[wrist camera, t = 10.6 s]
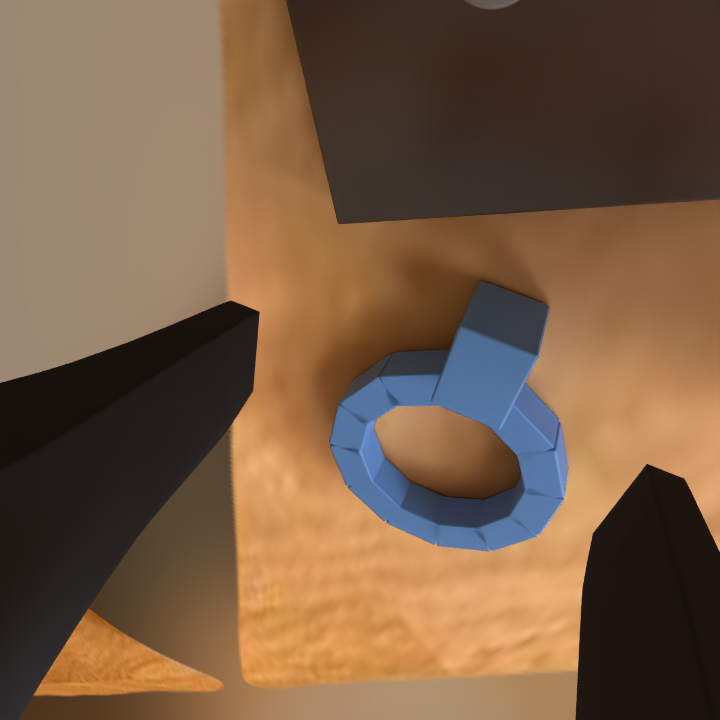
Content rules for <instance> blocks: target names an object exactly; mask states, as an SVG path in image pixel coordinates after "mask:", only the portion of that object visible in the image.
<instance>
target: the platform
mask: <svg viewBox="0 0 720 720" xmlns="http://www.w3.org/2000/svg"><path fill="white" fill-rule="evenodd" d="M286 1H287V6H288V10H289V14H290V19H291V23H292V27H293V32H294V36H295V40H296V45H297V49H298V53H299V58H300V62H301V66H302V71H303V75H304V79H305V84H306V88H307V92H308V96H309V101H310V105H311V109H312V114H313V118H314V122H315V127H316V131H317V135H318V140H319V144H320V148H321V153H322V157H323V161H324V166H325V170H326V174H327V179H328V183H329V187H330V192H331V196H332V200H333V205H334V209H335V213H336V218H337V222H338V224H351V223H366V222H382V221H397V220H412V219H428V218H443V217H458V216H474V215H489V214H504V213H520V212H535V211H551V210H566V209H581V208H597V207H612V206H627V205H643V204H658V203H673V202H689V201H704V200H719V199H720V0H286Z"/></svg>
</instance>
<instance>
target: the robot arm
mask: <svg viewBox="0 0 720 720" xmlns="http://www.w3.org/2000/svg"><path fill="white" fill-rule="evenodd" d="M259 313H260V312H259V311H256V310H254V309H251V308H249V307H246V306H244V305H241V304H239V303H236V302H234V301H228V302H226V303H223V304H220V305H218V306H215V307H213V308H211V309H208V310H206V311H203V312H201V313H199V314H196V315H194V316H192V317H189V318H187V319H184V320H182V321H180V322H177V323H175V324H173V325H170V326H168V327H165V328H163V329H160V330H158V331H155V332H153V333H150V334H148V335H145V336H143V337H141V338H138V339H135V340H133V341H130V342H128V343H125V344H122V345H120V346H117V347H114V348H111V349H108V350H105V351H103V352H100V353H97V354H94V355H91V356H88V357H86V358H83V359H80V360H78V361H74V362H72V363H69V364H65V365H62V366H59V367H56V368H52V369H50V370H46V371H42V372H39V373H35V374H32V375H28V376H24V377H20V378H17V379H13V380H10V381H6V382H2V383H0V720H19V718H20V717H21V715H22V713H23V712H24V710H25V708H26V706H27V705H28V703H29V702H30V700H31V698H32V697H33V695H34V693H35V692H36V690H37V688H38V686H39V685H40V683H41V681H42V680H43V678H44V677H45V675H46V674H47V672H48V670H49V669H50V667H51V666H52V664H53V663H54V661H55V659H56V658H57V656H58V655H59V653H60V651H61V650H62V648H63V647H64V645H65V644H66V642H67V640H68V639H69V637H70V636H71V634H72V632H73V631H74V629H75V628H76V626H77V625H78V623H79V622H80V620H81V619H82V617H83V616H84V614H85V613H86V611H87V610H88V608H89V607H90V605H91V604H92V602H93V601H94V599H95V598H96V596H97V595H98V593H99V592H100V590H101V589H102V587H103V586H104V584H105V583H106V581H107V580H108V578H109V577H110V575H111V574H112V573H113V571H114V570H115V568H116V567H117V565H118V564H119V563H120V561H121V560H122V558H123V557H124V556H125V554H126V553H127V551H128V550H129V548H130V547H131V546H132V544H133V543H134V541H135V540H136V538H137V537H138V536H139V535H140V533H141V532H142V531H143V529H144V528H145V527H146V526H147V524H148V523H149V522H150V521H151V519H152V518H153V517H154V516H155V515H156V513H157V512H158V511H159V510H160V509H161V507H162V506H163V505H164V504H165V503H166V502H167V501H168V499H169V498H170V497H171V496H172V495H173V494H174V493H175V491H176V490H177V489H178V488H179V487H180V486H181V484H182V483H183V482H184V481H185V480H186V479H187V477H188V476H189V475H190V474H191V473H192V472H193V471H194V469H195V468H196V467H197V466H198V465H199V464H200V462H201V461H202V460H203V459H204V458H205V457H206V455H207V454H208V453H209V452H210V451H211V450H212V448H213V447H214V446H215V445H216V444H217V442H218V441H219V440H220V439H221V438H222V436H223V435H224V434H225V433H226V432H227V430H228V429H229V427H230V426H231V424H232V423H233V421H234V420H235V418H236V417H237V415H238V414H239V412H240V411H241V409H242V407H243V406H244V404H245V403H246V401H247V400H248V398H249V396H250V395H251V393H252V392H253V385H254V373H255V361H256V349H257V337H258V325H259ZM577 683H578V684H577V702H576V720H720V552H719V549H718V547H717V545H716V543H715V541H714V539H713V537H712V535H711V533H710V531H709V529H708V526H707V524H706V522H705V520H704V518H703V516H702V514H701V512H700V510H699V507H698V505H697V503H696V501H695V499H694V497H693V495H692V493H691V491H690V489H689V487H688V485H687V483H686V481H685V479H684V478H681V477H679V476H676V475H674V474H671V473H669V472H666V471H663V470H661V469H658V468H656V467H653V466H651V465H648V464H647V465H646V466H645V467H644V468H643V470H642V471H641V472H640V474H639V475H638V476H637V478H636V479H635V480H634V481H633V483H632V484H631V485H630V487H629V488H628V489H627V490H626V492H625V493H624V494H623V496H622V497H621V498H620V499H619V501H618V502H617V503H616V505H615V506H614V507H613V508H612V510H611V511H610V512H609V514H608V515H607V516H606V517H605V519H604V520H603V521H602V523H601V524H600V525H599V526H598V528H597V529H596V530H595V532H594V533H593V536H592V541H591V546H590V551H589V556H588V561H587V566H586V572H585V577H584V583H583V590H582V605H581V623H580V641H579V662H578V682H577Z"/></svg>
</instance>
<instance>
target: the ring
mask: <svg viewBox="0 0 720 720" xmlns="http://www.w3.org/2000/svg"><path fill="white" fill-rule="evenodd" d="M549 309H550V306H549V305H547V304H544V303H541V302H539V301H536V300H533V299H531V298H528V297H525V296H523V295H520V294H517V293H514V292H512V291H509V290H506V289H504V288H501V287H498V286H495V285H493V284H490V283H487V282H485V281H479V282H478V285H477V287H476V289H475V291H474V293H473V296H472V298H471V300H470V302H469V304H468V307H467V309H466V311H465V313H464V315H463V318H462V320H461V322H460V324H459V326H458V329H457V332H456V334H455V337H454V340H453V342H452V345H451V347H450V349H441V350H425V351H408V352H395V353H393V355H392V354H389V355H388V356H386V357H385V358H383V359H382V360H381V361H379V362H378V363H376V364H375V365H374V366H372V367H371V368H369V369H368V370H367V371H365V372H364V373H362V374H361V375H360V376H358V377H357V378H355V379H354V381H353V382H352V383H351V385H350V387H349V388H348V390H347V391H346V393H345V394H344V396H343V398H342V399H341V401H340V402H339V404H338V407H337V411H336V415H335V419H334V424H333V428H332V432H331V436H330V440H329V443H330V448H331V450H332V453H333V455H334V458H335V460H336V462H337V465H338V467H339V469H340V472H341V474H342V477H343V479H344V481H345V484H346V485H349V486H348V488H349V489H350V490H351V491H352V492H353V493H354V494H355V495H356V496H357V497H358V498H359V499H360V500H362V501H363V502H364V503H365V504H366V505H367V506H368V507H369V508H370V509H371V510H372V511H373V512H374V513H375V514H377V515H378V516H379V517H380V518H381V519H382V520H383V521H386V520H387V523H388V524H390V525H392V526H394V527H396V528H398V529H401V530H403V531H405V532H407V533H409V534H412V535H414V536H416V537H418V538H420V539H423V540H425V541H427V542H429V543H431V544H434V545H435V544H436V542H437V545H438V546H442V547H452V548H462V549H471V550H481V551H490V549H491V550H493V551H494V550H497V549H500V548H503V547H506V546H510V545H513V544H516V543H519V542H522V541H525V540H528V539H531V538H534V537H536V536H537V535H538V534H540V533H541V532H542V531H543V529H544V528H545V526H546V525H547V523H548V522H549V521H550V519H551V518H552V516H553V515H554V513H555V512H556V511H557V509H558V508H559V506H560V505H561V503H562V502H563V501H564V496H565V490H566V482H567V475H568V462H567V456H566V450H565V444H564V438H563V432H562V426H561V423H560V422H558V420H559V419H558V417H557V416H556V415H555V414H554V413H553V412H552V411H551V410H550V409H549V408H548V407H547V406H546V404H545V403H544V402H543V401H542V400H541V399H540V398H539V397H538V396H537V395H536V394H535V393H534V392H533V391H532V390H531V389H530V387H529V386H528V385H527V384H526V383H525V382H526V380H527V378H528V376H529V374H530V372H531V370H532V368H533V366H534V364H535V362H536V360H537V358H538V356H539V352H540V347H541V343H542V339H543V335H544V330H545V326H546V322H547V318H548V314H549ZM397 406H441V407H444V408H446V409H448V410H451V411H453V412H456V413H458V414H461V415H463V416H465V417H468V418H470V419H473V420H475V421H478V422H480V423H482V424H485V425H487V426H489V428H490V429H491V430H492V431H493V432H494V433H495V434H496V435H497V436H498V437H499V438H500V439H501V440H502V441H503V442H504V443H505V444H506V445H507V446H508V447H509V448H510V449H511V450H512V451H513V452H514V453H515V454H516V455H517V458H518V463H519V467H520V472H521V478H520V479H519V481H518V483H517V484H516V486H515V487H514V488H512V489H509V490H507V491H504V492H502V493H499V494H497V495H494V496H492V497H489V498H487V499H484V500H483V499H467V498H451V497H444V496H442V495H440V494H437V493H435V492H433V491H431V490H428V489H426V488H424V487H421V486H419V485H417V484H415V483H412V482H410V481H409V480H408V479H407V478H406V477H405V476H404V475H403V474H402V473H401V472H400V471H399V470H398V469H397V468H396V467H395V466H394V465H393V464H392V463H391V462H390V461H389V460H387V459H386V458H385V457H384V454H383V451H382V448H381V446H380V443H379V440H378V437H377V435H376V432H375V429H374V426H375V422H376V419H377V418H379V417H381V416H382V415H384V414H385V413H387V412H389V411H390V410H392V409H394V408H395V407H397Z"/></svg>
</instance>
